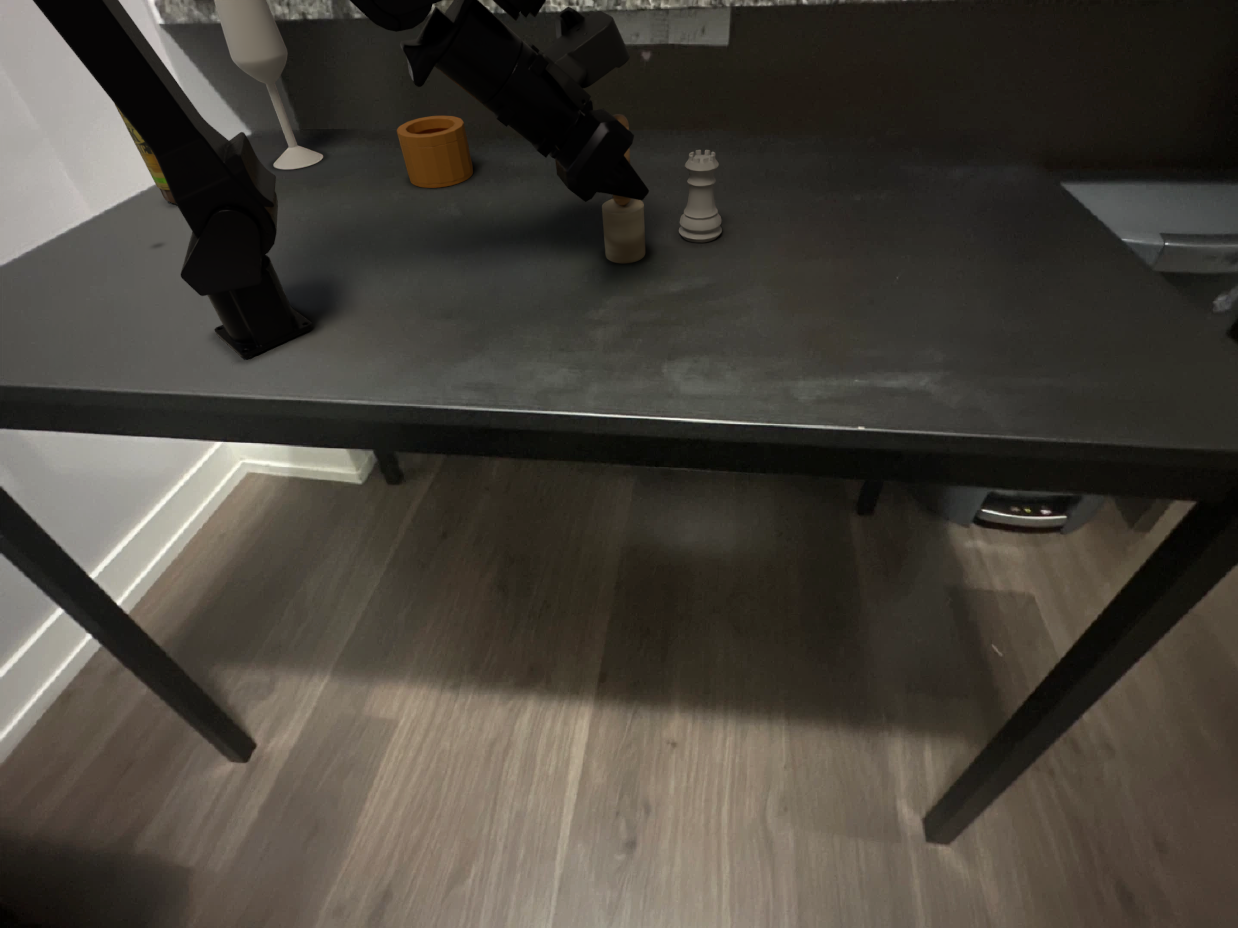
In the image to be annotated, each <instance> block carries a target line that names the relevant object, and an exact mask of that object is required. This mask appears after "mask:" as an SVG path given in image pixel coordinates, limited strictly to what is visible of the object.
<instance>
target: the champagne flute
mask: <svg viewBox="0 0 1238 928" xmlns="http://www.w3.org/2000/svg"><path fill="white" fill-rule="evenodd" d="M213 3H214V5H215V10H216V13H217V17H218V19H219V22H220V25H221V29H222V33H223V36H224V39H225V43H226V45H227V46H226V47H227V49H228V52H229V56H230V58H231V60H232V62H233V64H235V65H236V66H237V67H238V68H239V69H240V70H241V71H242V72H243V73H245V74H246V75H248V76H250V77H251V78H253V79H254V80H255V81H257V82H260V83H261V84H264V85H265V86H266V89H267V92H268V95H269V97H270V100H271V103H272V105H273V108H274V111H275V113H276V116H277V119H278V122H279V125H280V127H281V130H282V132H283V136H284V138H285V141H286V143H287V146H288V147H287V148H286V150H284V151H283V152H282V154H280V156H279V157H278V158H277V159H276V160H275V161H274V162H273V164H272V165H273V167H274V168H275V169H278V170H296V169H302V168H306V167H310V166H313V165H315V164H317V163H319V162H320V161H322V159H324V155H323V154H322V153H320V152H317V151H315V150H312V149H309V148H306V147H303V146H301V145H298V142H297V140H296V137H295V135H294V131H293V129H292V125H291V123H290V120H289V117H288V115H287V112H286V109H285V107H284V104H283V101H282V98H281V95H280V93H279V89H278V87H277V84H276V82H277V81H278V80H279V79H280V77H281V75H282V73H283V71H284V69H285V67H286V65H287V61H288V54H289V53H288V48H287V46H286V44H285V41H284V39H283V37H282V34H281V32H280V29H279V27H278V24H277V23H276V20H275V18H274V15H273V13H272V11H271V8H270V6H269V4H268V1H267V0H213Z"/></svg>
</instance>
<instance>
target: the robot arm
mask: <svg viewBox="0 0 1238 928" xmlns="http://www.w3.org/2000/svg"><path fill="white" fill-rule="evenodd" d="M32 2H33V3H34V4H35V5H36V7H37V8H38V9H39V11H41V13H42V14H43V16H44V17H45V18H46V19H47V21H48V22H49V23H50V25H52V27H53V28H54V29H55V30H56V32H57V33H58V34H59V36H60V37H61V38H62V39H63V41H64V42H65V43H66V44H67V46H68V47H69V48H70V49H71V51H72V52H73V53H74V54H75V56H76V57H77V58H78V59H79V60H80V62H81V64H82V65H83V66H84V67H85V68H86V70H87V71H88V72H89V73H90V74H91V76H92V77H93V78H94V80H95V81H96V82H97V84H98V85H99V86H100V87H101V88H102V90H103V91H104V92H105V94H106V95H107V96H108V97H109V99H110V100H111V101H112V102H113V104H114V103H115V104H114V106H115V105H116V106H117V107H118V108H119V110H120V111H121V112H122V113H123V115H124V116H125V117H126V119H127V120H128V121H129V122H130V124H131V125H132V126H133V127H134V129H135V130H136V131H137V132H138V134H139V135H140V136H141V137H142V139H143V140H144V141H145V142H146V144H147V145H148V146H149V147H150V149H151V150H152V152H153V153H154V155H155V157H156V159H157V161H158V163H159V166H160V168H161V170H162V173H163V175H164V177H165V180H166V182H167V184H168V187H169V189H170V191H171V194H172V196H173V198H174V201H175V203H176V204H175V205H176V206H177V208H178V210H179V211H180V213H181V215H182V216H183V218H184V220H185V222H186V223H187V225H188V227H189V229H190V230H191V234H190V239H189V242H188V246H187V250H186V252H185V257H184V260H183V264H182V268H181V272H180V278H181V279H182V280H183V281H184V282H185V283H186V284H187V285H188V286H189V287H190V288H191V289H192V290H194V291H195V293H196V294H198V295H199V296H201V297H205V296H207V297H208V299H209V302H210V303H211V305H212V308H213V309H214V310H215V313H216V315H217V316H218V319H219V320H220V322H221V324H220V325H218V326H216V327H215V328H214V329H213V330H214V332H215V334H216V336H218V337H219V338H220V339H221V341H223V342H224V343H225V344H226V345H228V346H229V348H230V349H231V350H233V351H234V352H235V353H236V354H237V355H239V356H240V357H241V358H243V359H248V358H250V357H253V356H254V355H257V354H259V353H262V352H264V351H266V350H268V349H271V348H272V347H273V348H274V347H275V346H277V345H279V344H281V343H283V342H286V341H288V340H291V339H293V338H295V337H297V336H299V335H301V334H304V333H306V332H309V331H311V330H312V329H313V328H314V326H313V324H312V322H311V320H309V319H308V318H306V317H305V316H304V315H302V314H301V313H300V312H298V311H297V310H296V309H294V308H293V307H292V306H291V304H290V302H289V299H288V296H287V294H286V292H285V290H284V287H283V286H282V283H281V280H280V279H279V276H278V274H277V272H276V269H275V268H274V265H273V263H272V260H271V258H270V256H268V255H267V254H268V253H270V251H271V250H272V248H273V247H274V245H275V243H276V238H277V234H278V233H277V231H278V213H279V201H278V200H279V199H278V196H277V193H276V184H277V183H276V182H277V181H276V180H277V176H276V175H275V174H274V173H273V172H272V171H270V170H269V169H268V168H267V167H266V166H265V165H264V164H263V163H262V162H261V161H260V159H259V158H258V156H257V154H256V152H255V150H254V148H253V146H252V144H251V141H250V140H249V138H248V136H247V135H246V133H245V132H244V131H241V132H238V134H236V135H235V136H233V137H232V138H230V139H228V138H226V136H225V135H224V134H222V133H221V132H219V131H218V130H217V129H215V128H214V127H213V126H212V125H211V124H210V123H209V122H208V121H207V120H206V119H204V117H203V116H202V115H201V114H200V112H199V111H198V109H197V108H196V106H195V105H194V104H193V102H192V101H191V99H190V98H189V96H188V95H187V94H186V93H185V90H183V88H182V87H181V86H180V84H179V83H178V81H177V80H176V78H175V77H174V75H173V74H172V73H171V72H170V70H169V69H168V67H167V66H166V64H165V63H164V62H163V61H162V59H161V58H160V56H159V55H158V53H157V52H156V51H155V49H154V48H153V46H152V45H151V43H150V42H149V40H147V38H146V36H145V35H144V34H143V32H142V31H141V30H140V28H139V27H138V26H137V24H136V23H135V21H134V20H133V18H132V17H131V16H130V14H129V13H128V11H127V10H126V8H125V7H124V5H123V4H122V3H121V2H120V0H32ZM349 2H351V4H353V6H355V7H356V8H357V9H358V10H359V11H360V12H361V13H362V14H363V15H364V16H365V17H366V18H367V19H368V20H370V21H371V22H372V23H373V24H375V25H376V26H378V27H380V28H382V29H384V30H386V31H391V32H395V33H397V32H402V31H408V30H413V29H414V28H416V27H418V26H419V25H420V24H422V23H424V21H425V20H426V18H427V17H428V15H429V14H430V15H429V17H428V19H427V20H426V22H425V24H424V25H423V28H421V31H420V32H419V34H418V36H417V37H416V38H414V39H407V40H401V41H400V43H399V46H400V48H401V50H402V52H403V54H404V56H405V58H406V62H407V67H408V74H409V76H410V78H411V80H412V83H413V84H414V85H415V87H418V88H421V87H423V86H424V85H425V83H426V81H427V80H428V78H429V76H430V74H431V73H432V71H433V70H434V68H435V69H437V70H438V71H439V72H440V73H442V74H443V75H445V77H447V78H448V79H450V80H451V81H452V82H453V83H455V85H457V86H458V87H460V88H461V89H462V90H464V92H466V93H467V94H468V95H470V96H471V97H473V98H474V99H475V100H476V101H478V103H480V104H481V105H482V106H483V107H485V108H486V109H487V110H489V111H490V112H491V114H492V115H493V116H494V118H495V119H496V120H497V121H498V122H500V123H501V124H502V125H503V126H505V127H506V128H507V127H508V126H509V127H510V128H511V129H512V130H514V131H515V132H516V133H517V134H519V135H520V136H521V137H523V138H524V139H525V140H526V141H527V142H529V143H530V144H531V145H532V147H533V148H534V149H535V150H536V152H538V153H539V154H540V155H542V156H543V157H544V158H547V157H548V156H550V158H552V159H553V160H555V169H556V175H557V177H558V178H559V179H560V180H561V183H563V185H565V187H566V188H567V189H568V190H569V191H570V192H572V194H574V195H575V196H577V197H578V198H580V200H582V201H583V202H585V203H587V202H589V201H591V200H592V199H593V198H594V197H595V195H596V194H597V193H599V194H600V193H601V194H607V195H611V196H613V195H617V196H622V197H627V198H632V199H637V200H641V201H643V200H645V198H646V197H647V195H648V194H649V192H650V190H649V188H648V186H647V185H646V184H645V183H644V181H643V180H642V178H641V177H640V175H639V174H638V172H637V171H636V170H635V168H634V167H633V165H632V164H631V162H630V163H629V162H628V160H627V159H626V157H625V156H624V154H625V153H626V152H627V150H628V149H629V147H630V148H631V146H632V145H633V143H634V138H635V134H634V133H633V132H631V131H630V129H629V130H628V129H627V128H626V127H625V126H624V125H622V124H621V123H620V122H619V121H618V120H617V119H616V118H615V117H613V115H612V113H610V112H609V111H607V109H606V108H597V109H594V104H593V100H592V99H591V98H592V96H591V95H590V94H589V93H588V92H587V91H586V90H585V89H587V88H589V87H590V86H592V85H594V84H595V83H596V82H598V81H599V80H601V79H602V78H604V77H605V76H606V75H608V74H609V73H610V72H611V71H613V70H614V69H616V68H618V69H620V68H621V67H623V66H624V65H626V63H628V62H629V60H630V58H631V54H630V52H629V50H628V48H627V46H626V43H625V41H624V38H623V37H622V34H621V32H620V30H619V28H618V26H617V23H616V21H615V19H614V17H613V16H612V15H610V14H608V13H606V12H605V11H603V10H596V11H593V10H590V11H588V12H587V16H586V17H585V16H583V15H582V14H581V13H580V12H578V11H577V10H576V9H574V8H572V7H571V6H566V7H565V8H564V9H563V10H561V11H560V12H558V13H557V14H556V15H555V16H554V22H555V36H556V37H554V38H552V39H551V42H552V44H550V45H549V46H548V47H546V48H545V49H544V50H541V49H539V48H538V47H537V46H535V44H533V43H532V42H531V41H530V42H529V43H526V41H524V40H523V39H522V38H521V37H520V36H519V35H518V34H517V33H515V32H514V31H513V30H512V29H511V28H510V27H509V26H508V25H506V24H505V23H504V22H503V21H502V20H501V19H500V18H499V17H498V16H496V15H495V14H494V13H493V12H492V11H491V10H490V9H489V8H487V6H485V5H484V3H482V2H481V1H480V0H453V1H452V2H451V3H450V5H449V6H448V7H447V9H446V10H445V11H443V10H442V9H441V8H439V7H438V6H434V9H433V5H435V4H438V3H439V2H443V0H349ZM492 2H494V3H495V4H496V5H497V6H498V7H499V8H500V9H501V10H502V11H504V12H505V13H506V14H507V15H508V16H509V17H510V18H512V19H513V20H514V21H515V22H517V21H518V19H519V17H520V16H521V15H522V16H523V17H524V18H527V17H528V16H529V15H530V16H532V17H533V18H536V17H537V16H538V14H539V13H540V11H541V9H542V8H543V6H544V5H545V3H546V2H547V0H492ZM432 9H433V10H432ZM431 11H432V12H431ZM520 14H521V15H520ZM116 106H115V107H116Z"/></svg>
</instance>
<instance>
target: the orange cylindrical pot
mask: <svg viewBox="0 0 1238 928" xmlns="http://www.w3.org/2000/svg"><path fill="white" fill-rule="evenodd" d="M396 134H397V138H398V140H399V145H400V150H401V153H402V156H403V160H404V165H405V168H406V173H407V176H408V178H409V181H410V183H411V184H412V185H413V186H415V187H419V188H423V189H438V188H439V189H440V188H446V187H451V186H454V185H457V184H460V183H463V182H465V181H467V180H469V179H470V178H471V177H472V176H473V173H474V169H473V168H474V167H473V161H472V156H471V151H470V147H469V142H468V137H467V132H466V126H465V122H464V121H463V119H462V118H460V117H457V116H454V115H432V116H431V115H430V116H424V117H419V118H414V119H412V120H408V121H406V122H405V123H403V124H400V125H399V126H398V127H397V129H396Z"/></svg>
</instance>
